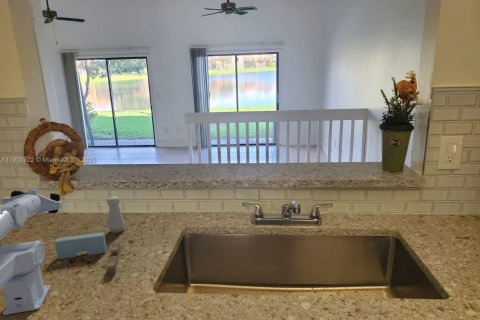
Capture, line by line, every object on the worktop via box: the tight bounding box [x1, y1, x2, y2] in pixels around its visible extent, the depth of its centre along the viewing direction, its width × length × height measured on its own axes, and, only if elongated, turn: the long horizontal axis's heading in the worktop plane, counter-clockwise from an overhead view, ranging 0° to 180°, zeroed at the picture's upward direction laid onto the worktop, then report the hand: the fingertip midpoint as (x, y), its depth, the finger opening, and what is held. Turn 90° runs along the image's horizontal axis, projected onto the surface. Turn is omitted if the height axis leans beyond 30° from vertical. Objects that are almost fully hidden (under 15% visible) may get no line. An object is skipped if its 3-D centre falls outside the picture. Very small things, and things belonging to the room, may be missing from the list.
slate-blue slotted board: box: [54, 231, 108, 260], centre depth 107 cm, size 2×14×6 cm, turn 103°
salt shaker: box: [106, 195, 126, 234], centre depth 121 cm, size 6×6×13 cm
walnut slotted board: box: [106, 241, 121, 276], centre depth 102 cm, size 14×2×3 cm, turn 13°
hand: (44, 197), depth 101 cm, fingers open, 7 cm apart
